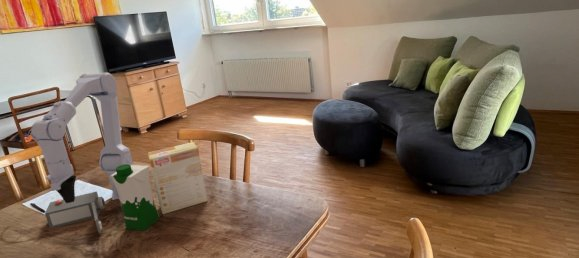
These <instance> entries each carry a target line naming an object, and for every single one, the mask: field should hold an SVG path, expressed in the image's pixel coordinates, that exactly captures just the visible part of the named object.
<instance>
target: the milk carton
mask: <svg viewBox="0 0 579 258" xmlns="http://www.w3.org/2000/svg"><path fill="white" fill-rule="evenodd" d="M110 177H111V179H112V181H113V182H114V184H115V186H116V188H117V192H118V196H119V199H118V200H119V202H120V207H121V210H122V215H123V220H124V224H125V229H126V230H132V231H133V230H134V231H135V230H136V231H141V232H146V230H148V229H149V228H150V227H151V226H153V224H154V223H156V222H157V221H158V220H160V215H159V213H158V210H157V207H156V203H155V200H154V195H153V190H152V187H151V182H150V166H149V165H138V164H132V165H129V164H125V165H121V166H118V167H117V168H116V172H115V173H114V174H112V175H110Z"/></svg>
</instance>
